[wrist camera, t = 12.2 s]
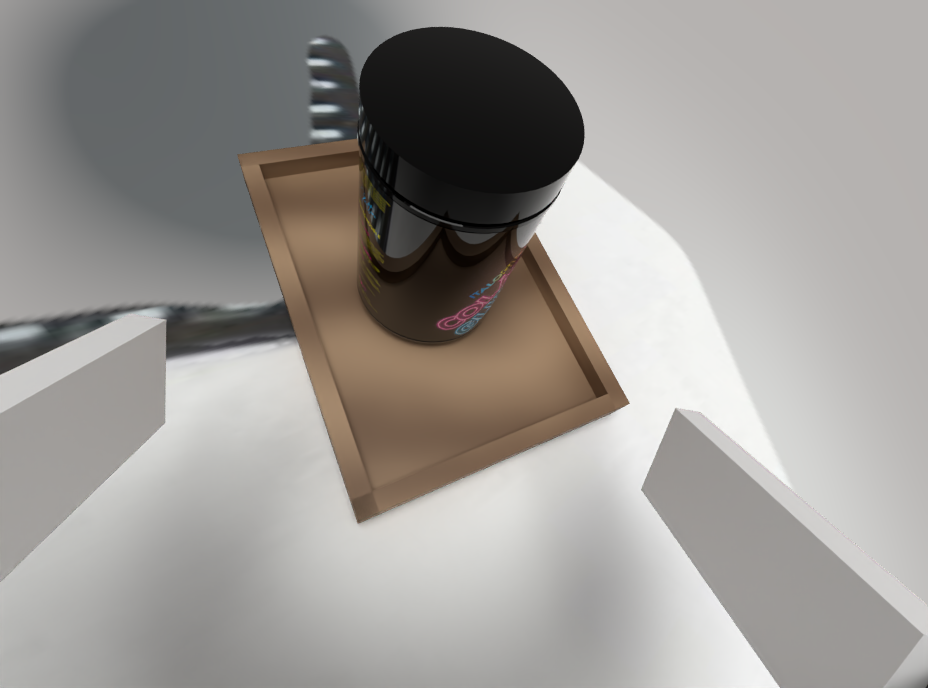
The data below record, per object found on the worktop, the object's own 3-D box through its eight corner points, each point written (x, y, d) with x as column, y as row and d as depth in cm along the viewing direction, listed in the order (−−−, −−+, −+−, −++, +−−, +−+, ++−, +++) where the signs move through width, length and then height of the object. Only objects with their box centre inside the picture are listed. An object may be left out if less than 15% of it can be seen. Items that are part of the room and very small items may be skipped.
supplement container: (406, 377, 20) (454, 230, 11) (327, 264, 22) (310, 51, 12) (516, 310, 23) (628, 148, 14) (440, 214, 24) (494, 9, 15)
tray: (245, 181, 24) (237, 154, 22) (467, 147, 28) (474, 123, 26) (357, 523, 18) (358, 521, 17) (610, 413, 23) (629, 403, 21)
